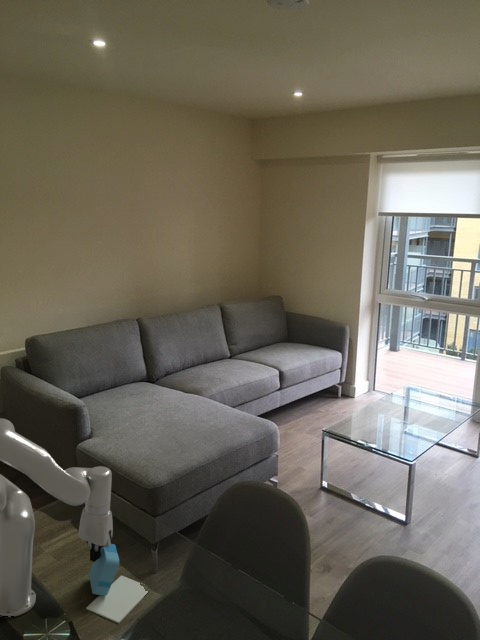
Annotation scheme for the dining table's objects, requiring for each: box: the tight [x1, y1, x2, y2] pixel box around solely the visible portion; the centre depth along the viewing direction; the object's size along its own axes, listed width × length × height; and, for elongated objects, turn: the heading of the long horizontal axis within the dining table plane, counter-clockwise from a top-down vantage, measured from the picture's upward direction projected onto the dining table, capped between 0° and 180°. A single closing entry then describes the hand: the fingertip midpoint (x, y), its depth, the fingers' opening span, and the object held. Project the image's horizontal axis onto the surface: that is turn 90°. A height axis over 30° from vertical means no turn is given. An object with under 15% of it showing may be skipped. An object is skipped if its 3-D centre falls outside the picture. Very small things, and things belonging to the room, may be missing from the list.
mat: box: [85, 575, 149, 624], centre depth 169 cm, size 12×18×1 cm, turn 157°
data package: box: [89, 543, 120, 596], centre depth 173 cm, size 12×4×12 cm, turn 21°
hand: (94, 559), depth 172 cm, fingers closed
